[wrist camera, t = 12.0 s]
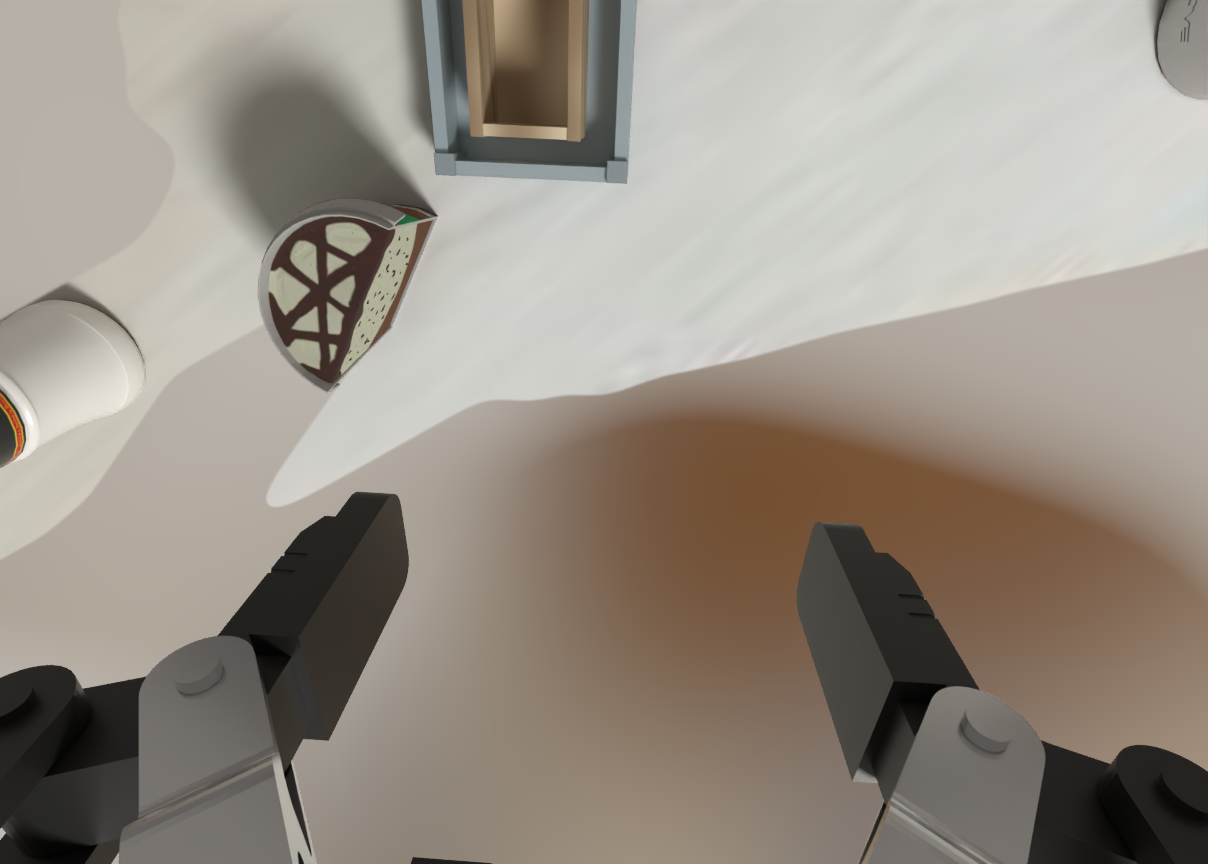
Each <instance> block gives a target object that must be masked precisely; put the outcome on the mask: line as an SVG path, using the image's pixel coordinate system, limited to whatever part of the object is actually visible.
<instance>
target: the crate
mask: <svg viewBox="0 0 1208 864" xmlns="http://www.w3.org/2000/svg"><path fill="white" fill-rule="evenodd" d="M421 1H422V12H423V23H424V34H425V45H426V56H427V67H428V78H429V90H430V101H431V112H432V123H433V134H434V145H435V153H434V162H435V173H436V175H450V176H456V175H462V176H484V177H505V178H527V179H549V180H570V181H592V182H607V183H624V184H627V176H628V157H629V138H630V119H631V100H632V81H633V62H634V43H635V24H636V5H637V0H589V34H588V76H587V118H586V137H585V138H583V139H581V141H580V142H577V141H567V140H558V139H537V138H517V137H496V136H486V137H473V136H471V134H470V117H469V101H468V84H467V68H466V51H465V35H464V18H463V2H462V0H421Z"/></svg>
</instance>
